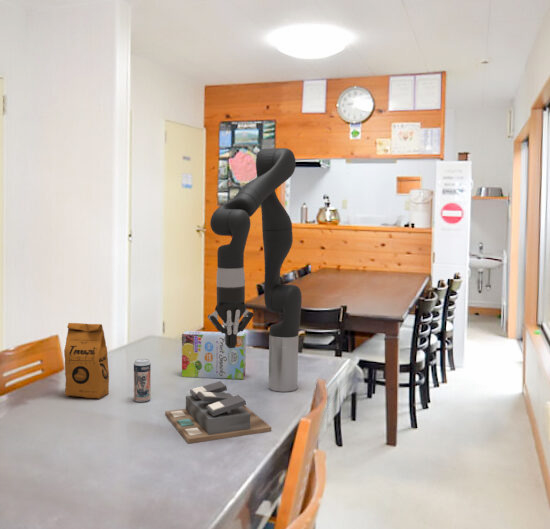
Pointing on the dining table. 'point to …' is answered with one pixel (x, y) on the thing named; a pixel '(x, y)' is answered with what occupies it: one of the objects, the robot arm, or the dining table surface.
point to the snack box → (212, 355)
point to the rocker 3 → (225, 405)
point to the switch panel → (205, 437)
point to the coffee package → (86, 361)
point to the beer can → (142, 380)
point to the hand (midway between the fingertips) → (230, 347)
